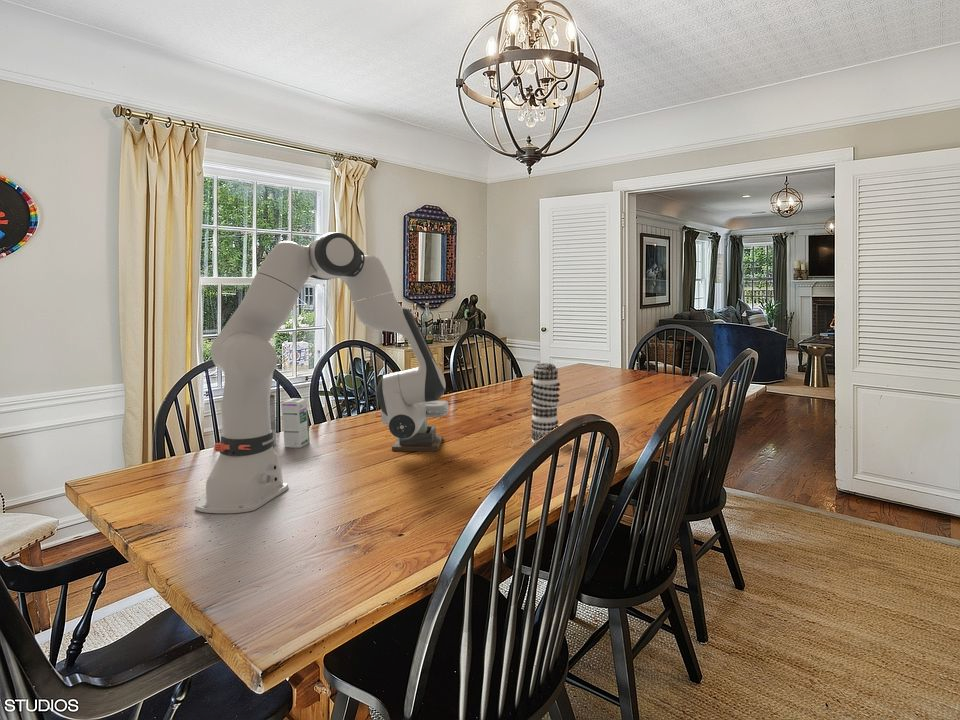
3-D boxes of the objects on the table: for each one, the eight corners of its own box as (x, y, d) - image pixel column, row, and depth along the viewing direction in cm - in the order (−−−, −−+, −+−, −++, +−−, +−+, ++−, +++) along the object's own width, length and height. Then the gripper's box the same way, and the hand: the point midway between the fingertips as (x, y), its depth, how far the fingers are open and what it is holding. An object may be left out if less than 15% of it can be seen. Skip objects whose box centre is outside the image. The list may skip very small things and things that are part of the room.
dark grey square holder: (437, 451, 173) (437, 435, 173) (391, 450, 174) (391, 435, 173) (442, 438, 187) (442, 424, 186) (400, 438, 188) (399, 424, 187)
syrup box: (301, 448, 177) (298, 402, 175) (283, 447, 178) (281, 401, 176) (310, 443, 182) (308, 398, 180) (293, 442, 183) (290, 397, 181)
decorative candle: (551, 447, 177) (553, 367, 173) (525, 443, 181) (525, 365, 178) (563, 440, 184) (565, 363, 181) (537, 436, 189) (538, 361, 186)
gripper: (446, 402, 165) (451, 392, 179) (376, 402, 166) (385, 392, 180) (447, 423, 166) (451, 412, 180) (377, 423, 167) (386, 412, 180)
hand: (418, 402), depth 180 cm, fingers closed on sage peg, 5 cm apart
